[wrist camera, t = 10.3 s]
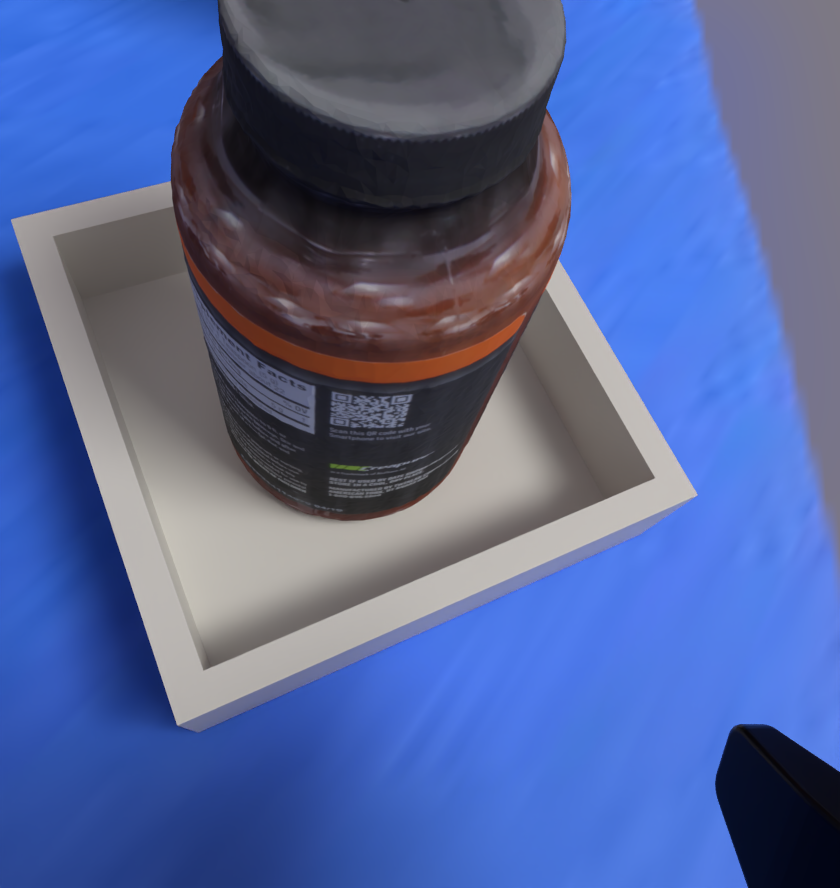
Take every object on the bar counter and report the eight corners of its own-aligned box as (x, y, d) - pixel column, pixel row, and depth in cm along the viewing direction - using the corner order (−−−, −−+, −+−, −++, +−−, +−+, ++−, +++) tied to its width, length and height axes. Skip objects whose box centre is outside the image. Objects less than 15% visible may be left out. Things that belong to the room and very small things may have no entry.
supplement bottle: (387, 275, 21) (477, -217, 10) (511, 456, 19) (765, 93, 9) (179, 368, 19) (32, -121, 8) (299, 577, 17) (300, 294, 7)
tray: (639, 534, 19) (697, 495, 17) (198, 732, 16) (177, 725, 13) (448, 191, 23) (470, 109, 20) (52, 298, 20) (10, 219, 17)
